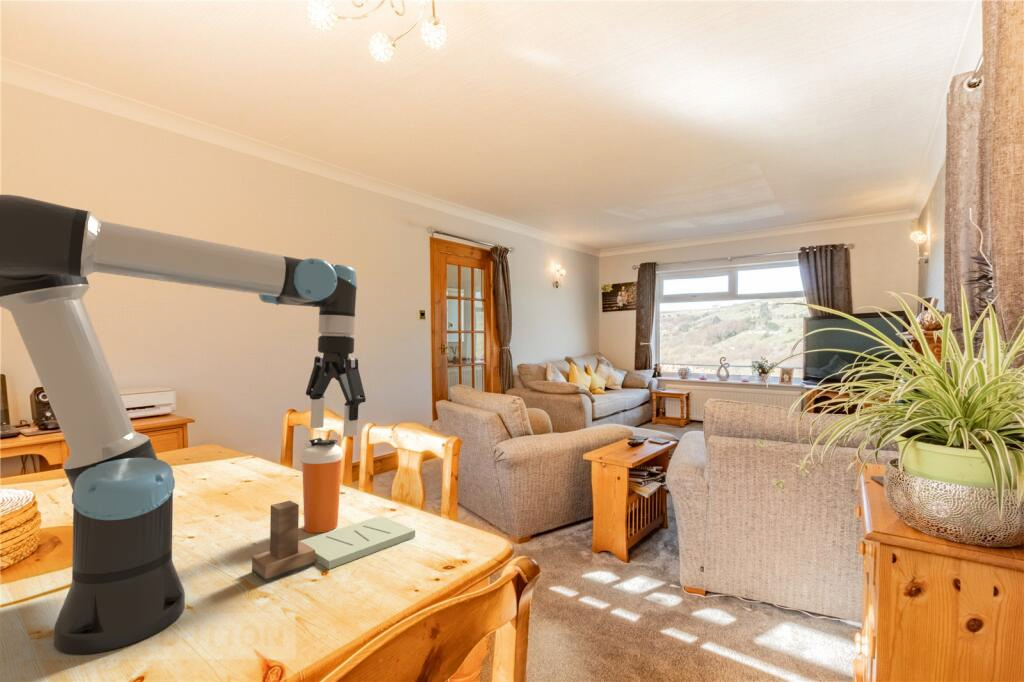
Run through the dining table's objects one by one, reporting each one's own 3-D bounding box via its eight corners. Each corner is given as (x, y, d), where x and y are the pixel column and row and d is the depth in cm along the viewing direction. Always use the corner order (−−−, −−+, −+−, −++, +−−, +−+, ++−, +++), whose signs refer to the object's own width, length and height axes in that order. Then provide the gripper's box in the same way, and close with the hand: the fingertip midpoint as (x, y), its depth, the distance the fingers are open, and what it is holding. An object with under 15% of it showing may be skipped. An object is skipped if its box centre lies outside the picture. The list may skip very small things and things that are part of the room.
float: (265, 583, 83) (266, 515, 83) (251, 572, 87) (252, 507, 87) (314, 565, 90) (315, 502, 90) (300, 556, 94) (300, 495, 94)
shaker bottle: (327, 536, 104) (328, 445, 104) (291, 532, 105) (292, 443, 105) (349, 521, 112) (350, 437, 112) (315, 518, 114) (316, 435, 114)
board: (329, 569, 89) (329, 560, 89) (297, 549, 97) (297, 541, 97) (415, 536, 104) (415, 529, 104) (380, 522, 112) (381, 515, 112)
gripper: (384, 336, 100) (381, 437, 100) (322, 336, 116) (319, 423, 115) (353, 334, 94) (349, 441, 94) (292, 334, 110) (288, 426, 109)
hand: (332, 431), depth 104 cm, fingers open, 13 cm apart
